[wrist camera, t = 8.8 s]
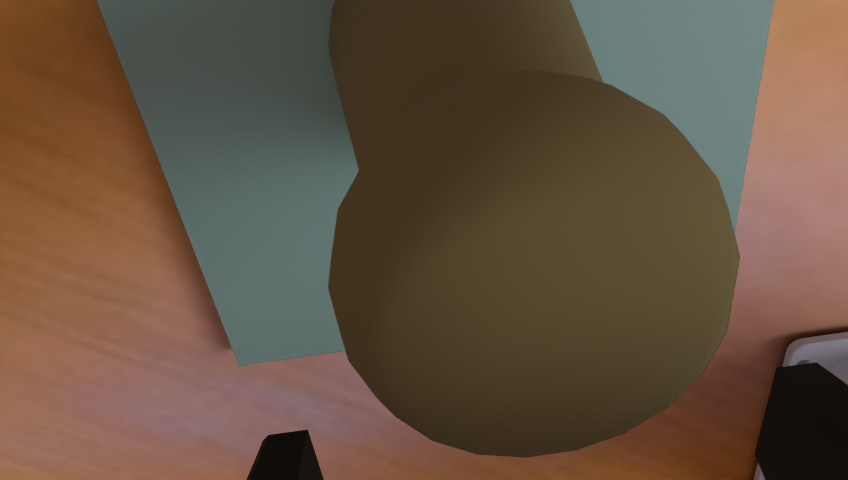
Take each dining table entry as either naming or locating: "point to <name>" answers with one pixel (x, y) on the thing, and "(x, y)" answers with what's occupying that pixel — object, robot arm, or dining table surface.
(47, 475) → the dining table surface
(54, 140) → the dining table surface
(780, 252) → the dining table surface
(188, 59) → the teal board
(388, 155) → the olive game pawn
